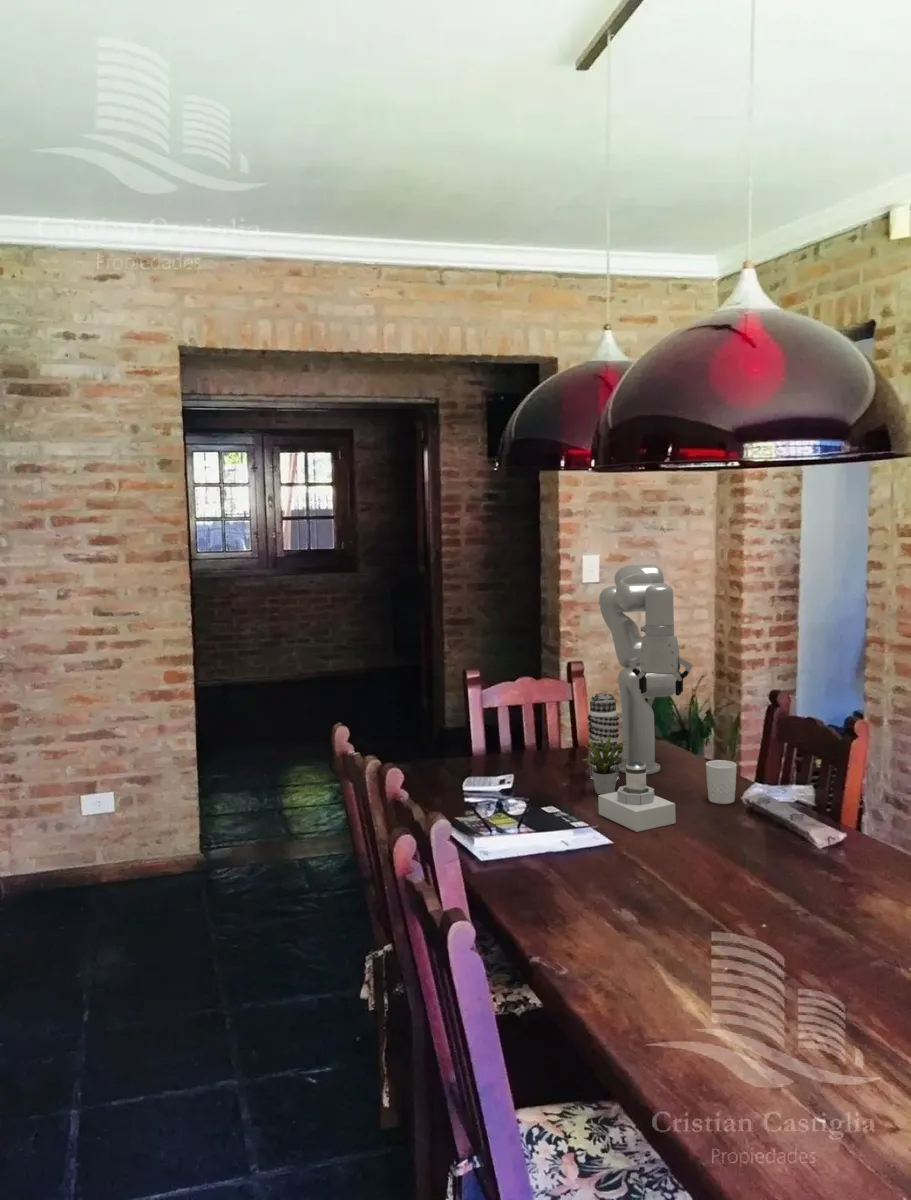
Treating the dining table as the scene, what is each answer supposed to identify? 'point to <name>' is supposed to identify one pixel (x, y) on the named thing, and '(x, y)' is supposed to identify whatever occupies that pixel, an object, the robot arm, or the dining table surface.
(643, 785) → the lens
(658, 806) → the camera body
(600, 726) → the decorative candle
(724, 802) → the white cup
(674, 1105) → the dining table surface
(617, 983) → the dining table surface
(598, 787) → the house plant
